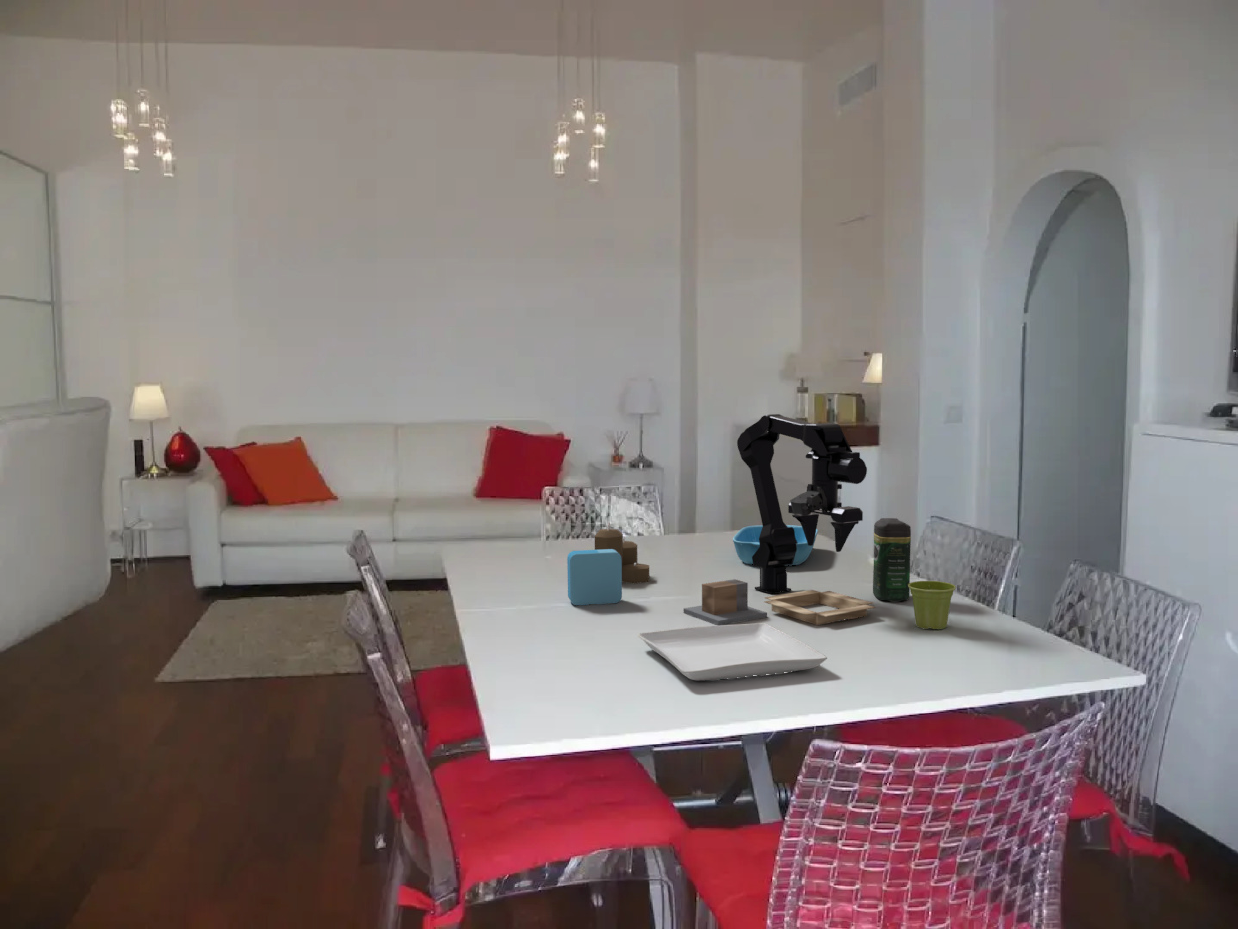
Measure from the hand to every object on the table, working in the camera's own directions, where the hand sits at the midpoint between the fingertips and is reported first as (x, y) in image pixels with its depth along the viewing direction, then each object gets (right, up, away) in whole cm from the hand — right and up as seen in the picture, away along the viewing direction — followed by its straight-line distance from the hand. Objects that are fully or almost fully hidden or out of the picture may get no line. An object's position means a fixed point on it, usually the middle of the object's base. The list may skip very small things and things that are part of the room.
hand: (824, 548), depth 230 cm
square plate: (-26, -18, -41) cm, 51 cm away
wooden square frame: (-2, -14, -6) cm, 15 cm away
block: (-23, -13, -7) cm, 27 cm away
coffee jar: (+17, -12, +8) cm, 23 cm away
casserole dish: (-2, -8, +60) cm, 60 cm away
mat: (-23, -14, -7) cm, 28 cm away
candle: (-46, -11, +32) cm, 57 cm away
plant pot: (+19, -15, -18) cm, 30 cm away
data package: (-52, -13, +7) cm, 54 cm away
